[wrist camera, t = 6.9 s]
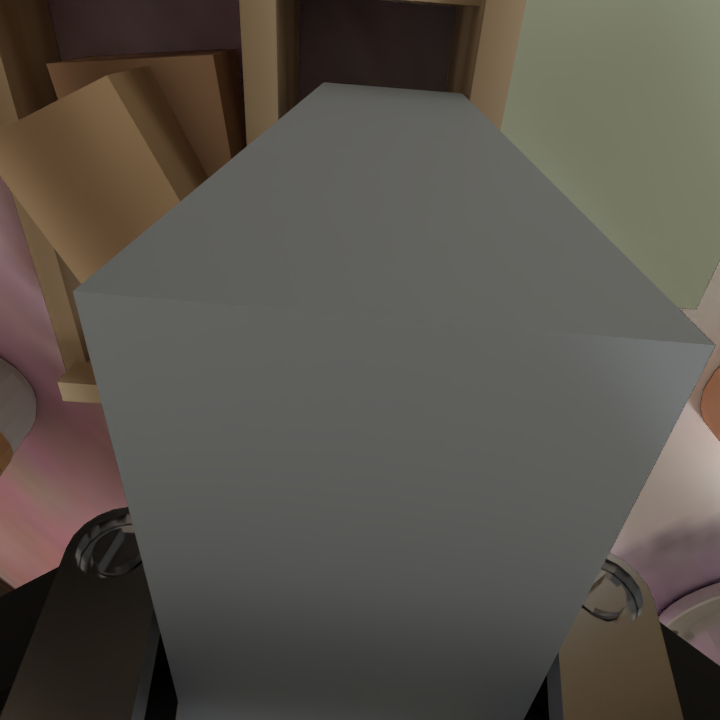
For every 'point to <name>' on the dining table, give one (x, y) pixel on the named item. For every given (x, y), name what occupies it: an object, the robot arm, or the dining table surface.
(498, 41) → the wooden divided tray
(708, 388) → the pepper shaker
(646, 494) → the dining table surface
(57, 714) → the robot arm
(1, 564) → the dining table surface
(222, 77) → the offcut low
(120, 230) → the offcut top
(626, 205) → the board
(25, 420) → the coffee cup
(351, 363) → the blue-grey rectangular block
